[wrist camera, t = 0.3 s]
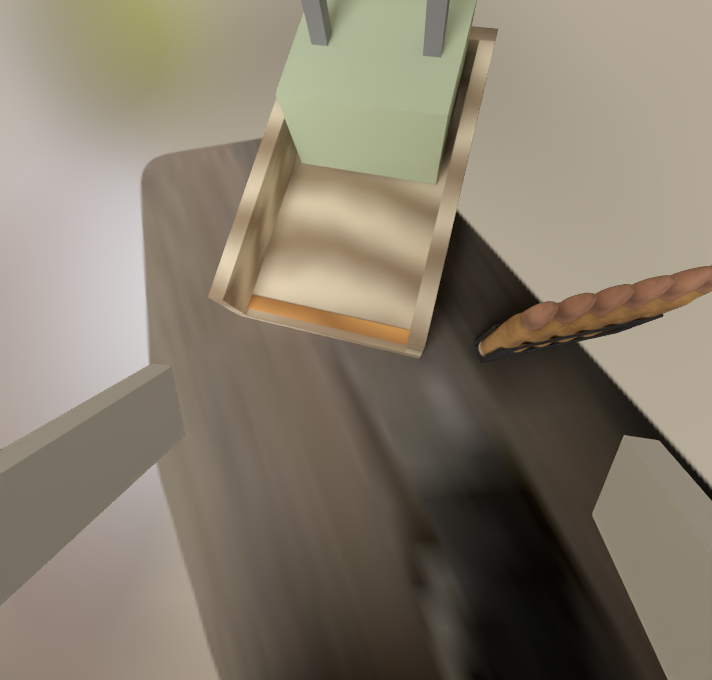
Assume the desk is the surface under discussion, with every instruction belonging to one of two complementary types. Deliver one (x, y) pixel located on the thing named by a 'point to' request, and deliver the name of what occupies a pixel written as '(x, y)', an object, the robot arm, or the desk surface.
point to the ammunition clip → (592, 314)
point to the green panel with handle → (376, 84)
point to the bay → (348, 235)
